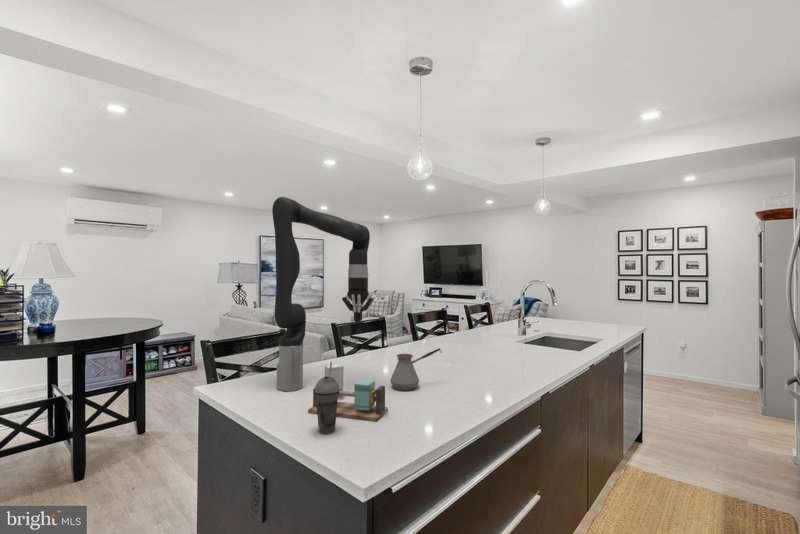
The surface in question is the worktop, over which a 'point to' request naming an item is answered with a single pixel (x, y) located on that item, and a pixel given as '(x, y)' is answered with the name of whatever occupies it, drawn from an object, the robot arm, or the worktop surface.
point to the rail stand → (349, 412)
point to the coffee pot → (406, 372)
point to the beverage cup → (326, 403)
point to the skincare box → (336, 375)
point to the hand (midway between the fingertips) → (358, 322)
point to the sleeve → (363, 394)
